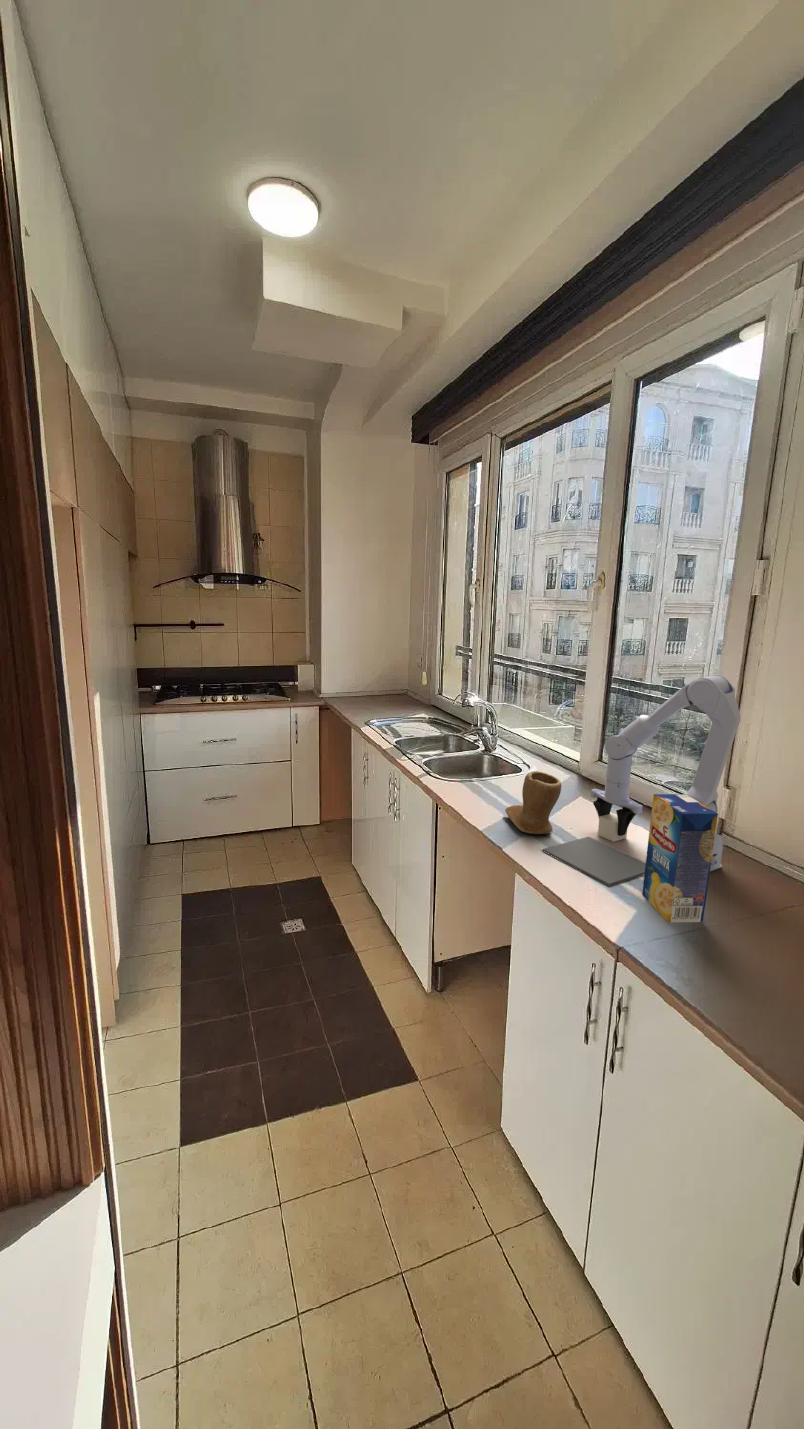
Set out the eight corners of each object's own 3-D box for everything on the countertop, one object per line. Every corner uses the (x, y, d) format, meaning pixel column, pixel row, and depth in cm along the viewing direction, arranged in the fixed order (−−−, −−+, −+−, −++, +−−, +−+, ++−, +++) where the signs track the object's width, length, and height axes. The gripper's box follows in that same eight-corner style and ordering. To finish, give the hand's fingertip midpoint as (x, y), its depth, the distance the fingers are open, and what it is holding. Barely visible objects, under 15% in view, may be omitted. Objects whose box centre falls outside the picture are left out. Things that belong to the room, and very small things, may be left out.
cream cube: (626, 838, 151) (628, 819, 150) (613, 841, 149) (615, 823, 148) (610, 831, 156) (612, 813, 155) (597, 834, 153) (599, 816, 152)
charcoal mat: (656, 870, 134) (657, 867, 134) (609, 886, 126) (609, 883, 126) (588, 838, 151) (588, 836, 150) (542, 851, 142) (542, 848, 142)
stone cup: (564, 837, 151) (568, 781, 148) (518, 838, 150) (522, 782, 147) (545, 815, 166) (549, 764, 163) (503, 816, 165) (507, 764, 162)
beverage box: (673, 893, 123) (686, 794, 119) (703, 922, 113) (718, 813, 108) (641, 894, 123) (653, 794, 118) (668, 922, 112) (682, 813, 108)
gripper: (652, 786, 145) (646, 838, 148) (605, 771, 157) (600, 819, 160) (633, 790, 142) (628, 843, 144) (587, 774, 154) (582, 823, 156)
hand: (612, 831), depth 152 cm, fingers closed on cream cube, 5 cm apart
